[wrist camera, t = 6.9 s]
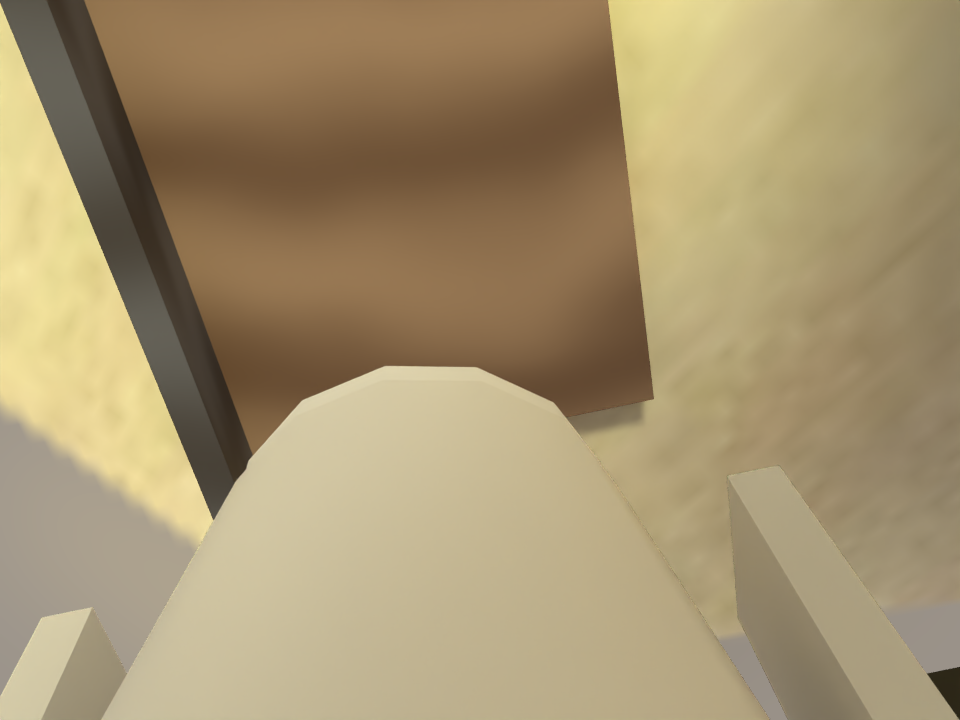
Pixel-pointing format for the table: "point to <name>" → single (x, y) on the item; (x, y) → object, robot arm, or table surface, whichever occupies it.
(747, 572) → the robot arm
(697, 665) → the foam cup
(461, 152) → the shelf board
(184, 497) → the table surface
